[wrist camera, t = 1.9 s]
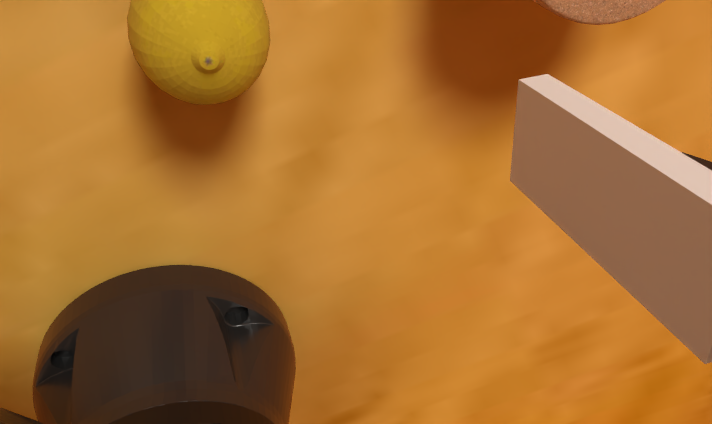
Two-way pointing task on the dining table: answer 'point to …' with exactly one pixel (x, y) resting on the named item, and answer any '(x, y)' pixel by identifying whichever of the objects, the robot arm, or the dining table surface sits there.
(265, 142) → the dining table surface
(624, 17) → the lidded jar
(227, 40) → the lemon
